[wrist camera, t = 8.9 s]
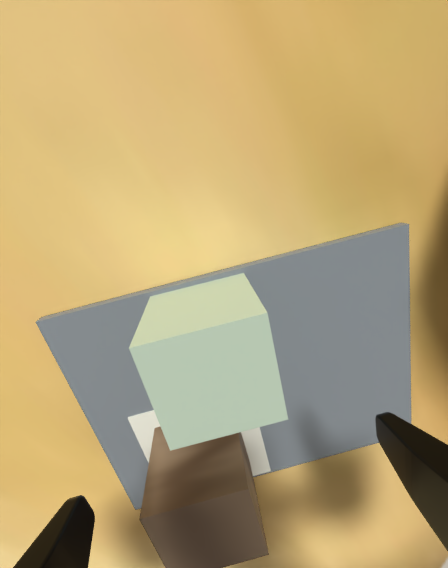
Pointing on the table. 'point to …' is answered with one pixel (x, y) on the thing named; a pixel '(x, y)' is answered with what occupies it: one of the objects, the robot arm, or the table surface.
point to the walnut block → (202, 504)
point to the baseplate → (288, 348)
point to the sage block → (208, 361)
